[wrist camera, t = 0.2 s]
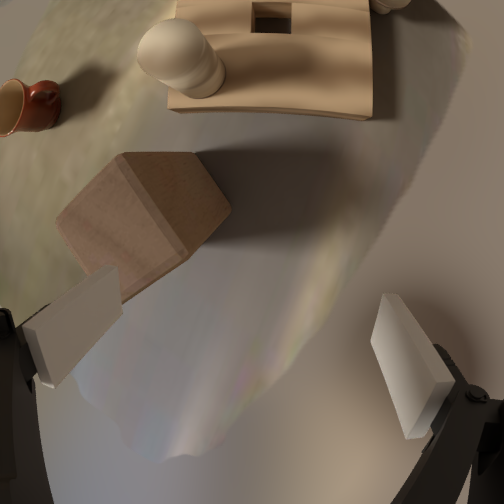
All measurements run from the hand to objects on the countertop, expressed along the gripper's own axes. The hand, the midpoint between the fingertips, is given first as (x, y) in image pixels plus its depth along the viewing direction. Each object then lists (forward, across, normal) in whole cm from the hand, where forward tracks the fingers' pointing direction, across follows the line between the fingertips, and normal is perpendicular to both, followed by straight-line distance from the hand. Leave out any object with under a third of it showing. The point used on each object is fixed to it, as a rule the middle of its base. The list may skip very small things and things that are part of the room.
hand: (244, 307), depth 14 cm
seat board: (+28, -1, +25) cm, 37 cm away
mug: (+28, -36, +16) cm, 48 cm away
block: (+28, -12, 0) cm, 30 cm away
